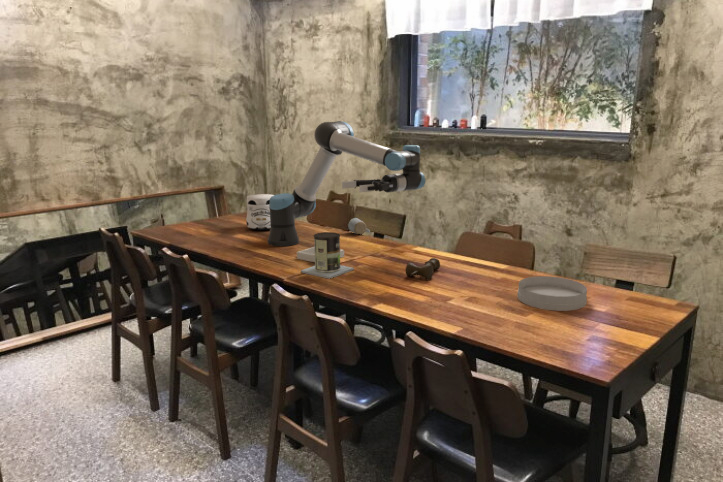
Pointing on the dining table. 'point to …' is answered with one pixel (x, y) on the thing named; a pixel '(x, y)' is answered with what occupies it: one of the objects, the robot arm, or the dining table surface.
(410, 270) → the kendama
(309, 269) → the mat
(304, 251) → the frame
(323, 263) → the coffee can
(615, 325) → the dining table surface
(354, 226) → the ceramic mug
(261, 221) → the milk container
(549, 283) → the dish
